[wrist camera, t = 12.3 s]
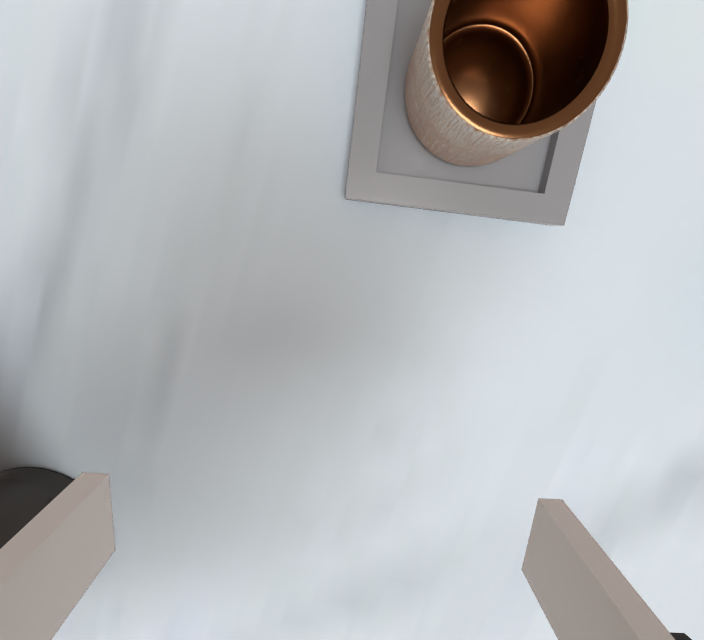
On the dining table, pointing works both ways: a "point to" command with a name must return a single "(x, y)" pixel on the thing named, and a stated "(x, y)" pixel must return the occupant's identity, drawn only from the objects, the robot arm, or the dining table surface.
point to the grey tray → (425, 168)
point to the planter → (508, 72)
